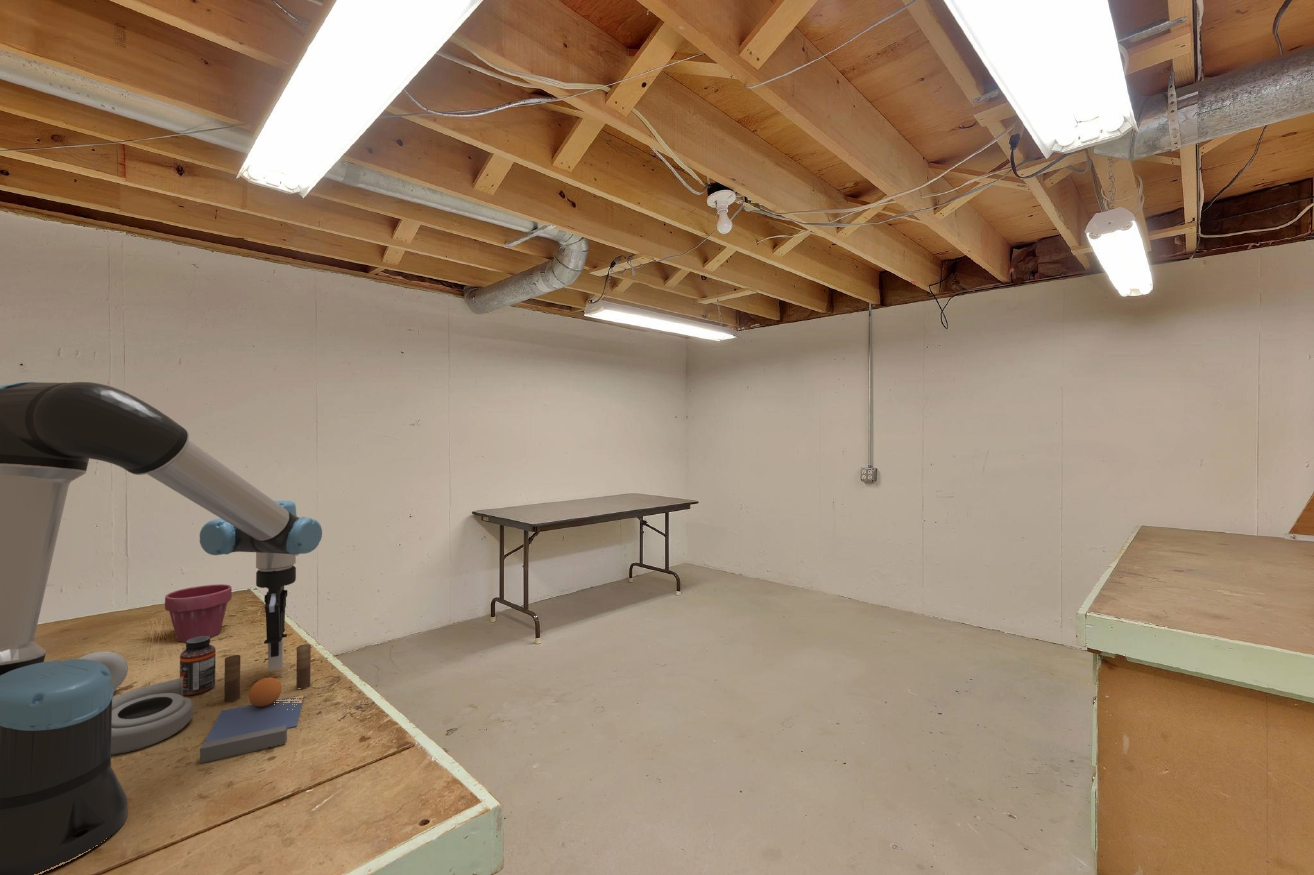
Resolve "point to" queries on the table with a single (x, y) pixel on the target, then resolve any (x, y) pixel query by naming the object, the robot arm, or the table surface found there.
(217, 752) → the stopper
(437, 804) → the table surface
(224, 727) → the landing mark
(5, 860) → the robot arm
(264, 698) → the orange egg
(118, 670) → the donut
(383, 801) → the table surface
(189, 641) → the supplement bottle
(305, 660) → the post right
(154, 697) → the turbocharger housing
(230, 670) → the post left
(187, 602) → the plant pot
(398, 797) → the table surface
